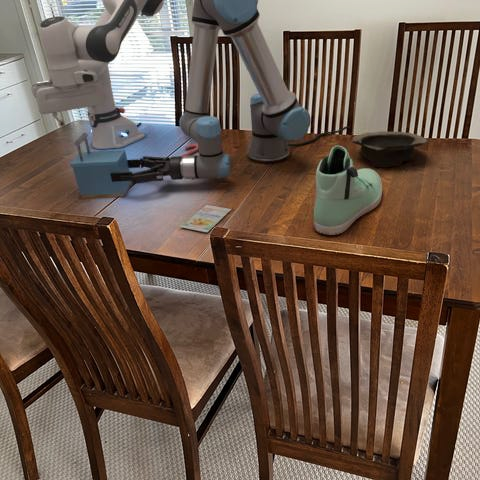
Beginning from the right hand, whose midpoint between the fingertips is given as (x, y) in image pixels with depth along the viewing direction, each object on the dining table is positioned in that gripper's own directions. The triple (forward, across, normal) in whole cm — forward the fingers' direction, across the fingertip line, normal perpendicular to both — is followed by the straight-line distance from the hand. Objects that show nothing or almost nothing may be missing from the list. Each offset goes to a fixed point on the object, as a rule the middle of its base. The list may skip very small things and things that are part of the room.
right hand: (116, 170), depth 157 cm
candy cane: (-18, +30, -7) cm, 36 cm away
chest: (+5, 0, -7) cm, 8 cm away
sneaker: (-73, -19, -7) cm, 76 cm away
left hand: (+9, 0, +16) cm, 19 cm away
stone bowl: (-91, +18, -7) cm, 93 cm away
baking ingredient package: (-32, -22, -7) cm, 40 cm away
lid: (+5, 0, +4) cm, 6 cm away
